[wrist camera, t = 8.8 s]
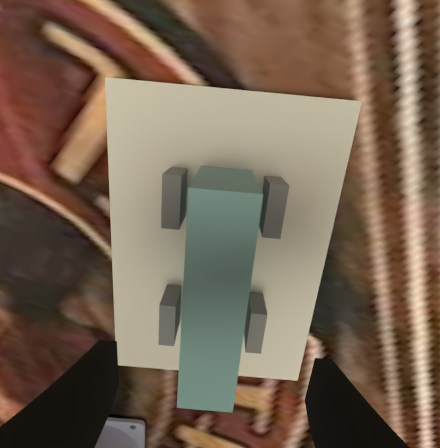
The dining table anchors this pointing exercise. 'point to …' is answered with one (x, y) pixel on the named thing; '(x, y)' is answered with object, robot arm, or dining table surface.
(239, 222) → the teal rectangular block
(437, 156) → the dining table surface
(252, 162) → the hinge board
